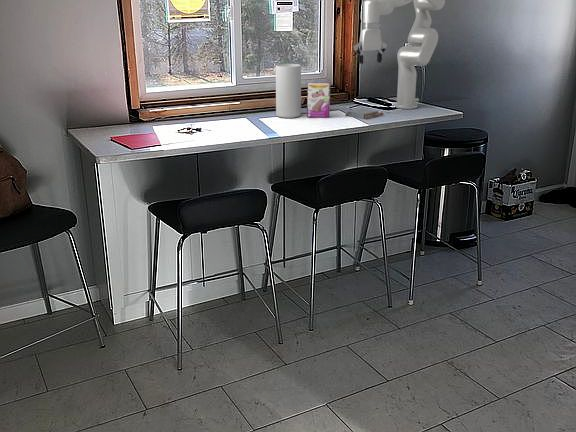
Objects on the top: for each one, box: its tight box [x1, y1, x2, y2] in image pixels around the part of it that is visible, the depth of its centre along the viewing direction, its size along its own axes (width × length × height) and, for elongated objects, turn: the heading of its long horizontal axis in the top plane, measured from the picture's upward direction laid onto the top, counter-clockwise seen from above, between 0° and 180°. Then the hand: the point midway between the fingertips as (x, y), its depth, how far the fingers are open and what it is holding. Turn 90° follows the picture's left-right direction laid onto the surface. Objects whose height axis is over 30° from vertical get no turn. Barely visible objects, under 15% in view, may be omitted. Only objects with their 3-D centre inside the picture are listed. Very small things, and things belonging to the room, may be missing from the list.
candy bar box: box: [306, 82, 331, 119], centre depth 313 cm, size 11×5×16 cm, turn 84°
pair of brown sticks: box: [345, 111, 384, 120], centre depth 318 cm, size 14×13×2 cm
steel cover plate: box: [347, 108, 380, 120], centre depth 317 cm, size 12×10×3 cm
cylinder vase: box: [275, 63, 302, 119], centre depth 315 cm, size 12×12×25 cm
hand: (370, 62), depth 310 cm, fingers open, 9 cm apart
